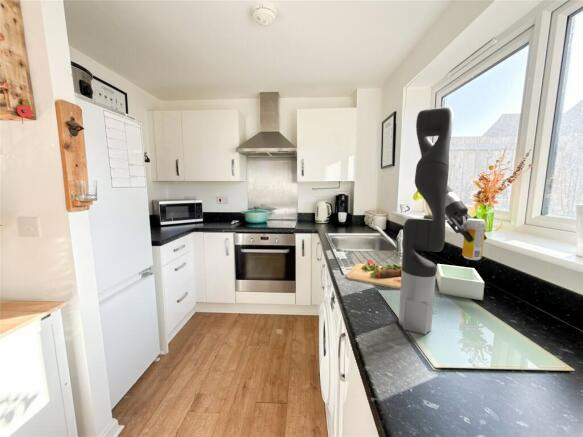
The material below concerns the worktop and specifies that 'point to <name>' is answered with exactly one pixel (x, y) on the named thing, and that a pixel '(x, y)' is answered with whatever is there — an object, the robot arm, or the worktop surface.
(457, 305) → the worktop surface
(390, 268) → the cutting board
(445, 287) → the bin
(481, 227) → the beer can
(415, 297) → the robot arm
